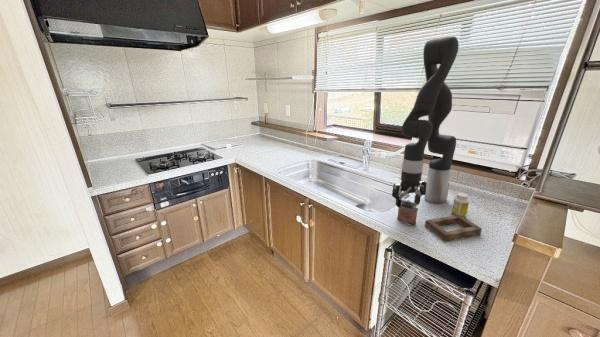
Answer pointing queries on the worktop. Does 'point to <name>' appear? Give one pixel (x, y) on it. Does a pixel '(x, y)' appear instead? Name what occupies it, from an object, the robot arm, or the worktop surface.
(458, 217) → the slot block
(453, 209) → the supplement bottle
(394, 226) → the worktop surface
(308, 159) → the worktop surface
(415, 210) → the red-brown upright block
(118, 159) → the worktop surface
